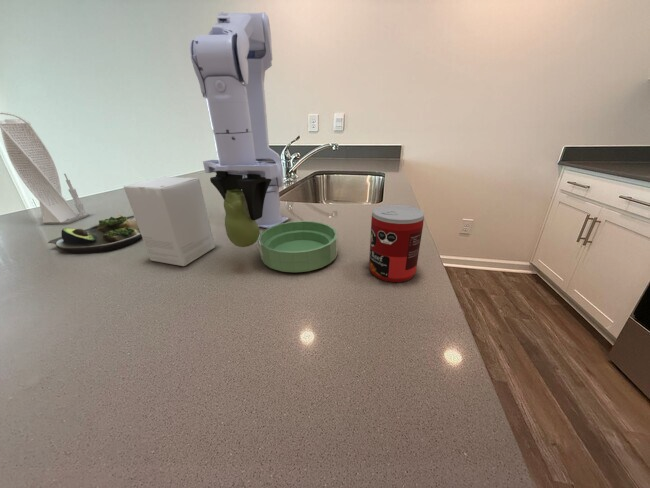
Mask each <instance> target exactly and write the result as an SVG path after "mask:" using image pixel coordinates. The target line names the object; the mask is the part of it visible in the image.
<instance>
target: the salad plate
mask: <svg viewBox="0 0 650 488" xmlns="http://www.w3.org/2000/svg"><path fill="white" fill-rule="evenodd" d="M133 219H135V216H134V215H129V216H123V215H122V214H119V215H117V217H113V216H110V217H109V218H104V219H99V220H98V223H96V224H92V225H90V226H87V227H85V228H74V227H64V228H62V229H61V232H60V235H61V236H59V237H56V238H53V239H51V240H48V242H47V244H54V245H55V247H56V248H57V249H59V250H61V251H63V252H65V253H68V254H95V253H103V252H104V253H105V252H110V251H114V250H119V249H122V248H125V247H127V246H129V245H132V244H133V243H135V242H136V241H138V240H139V239H141V238H142V235H141V233H140V230H139V227H138V224H137V222H136V220H133Z"/></svg>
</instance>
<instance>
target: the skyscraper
mask: <svg viewBox="0 0 650 488" xmlns="http://www.w3.org/2000/svg"><path fill="white" fill-rule="evenodd" d="M0 115H5V116H12V117H15V118H16V119H14V118H12V119H9V118H8V119H6V118H5V119H1V120H0V132H1V135H2V137H1V138H2V140H3V144H4V148H5V150H6V153H7V156H8V158H9V161H10V162H11V164H12V166H13V168H14V170H15V172H16V174H17V175H18V177H19V178H20V180H21V181H22V182H23V184H24V185H25V187H26V188H27V189H28V191H30V193H32V195H33V196H34V197H35V198H36V199H37V200H38V202H39V203H38V204H39V208H40V212H41V218H42V223H43V225H69V224H72V223H74V222H77V221H79V220H83V219H84V218H87V217H89V216H90V214H89V213H87V212H86V210H85V207H84V204H83V202H81V200H80V198H79V194H78V192H77V189H76V188H74V187H73V185H72V183H71V180H70V179H69V177H68V176H67V174H66V173H63V175H64V177H65V182H66V184H67V186H68V188H69V189H68V192H69V194H70V196H71V198H72V200H73V202H74V207H75V208H76V211H77V212H78V213H77V212H76V211H75V210H74V208H73V207H72V206H71V205H70V204H69V202H68V201H67V200H66V198H64V196H63V195H62V194H63V193H62V187H61V182H60V177H59V173H58V170H57V167H56V164H55V162H54V160H53V157H52V156H51V154H50V152H49V150H48V149H47V146H46V145H45V144H44V142H43V141H42V139H41V138H40V136H39V135H38V133H37V132H36V131H35V129H34V128H33V127H32V125H31V122H29V121H27V120H26V119H25V118H23V117H22V116H19V115H17V114H16V113H11V112H6V111H0Z"/></svg>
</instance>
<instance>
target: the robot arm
mask: <svg viewBox="0 0 650 488" xmlns="http://www.w3.org/2000/svg"><path fill="white" fill-rule="evenodd" d="M189 51H190V59H191V63H192V67H193V70H194V73H195V75H196V78H197V81H198V83H199V88H200V91H201V94H202V97H203V99H206V104H207V109H208V114H209V119H210V125H211V130H212V133H213V134H212V135H213V141H214V144H215V150H216V155H217V159H209V160H203V161H202V164H203V168H204V172H205V173H206V174H212V173H215V176H211V177H210V178H209V180H210V183H211V184H212V185H213V186H214V187H215V188H216V190H217V191H218V193H219V194H220V196H221V198H222V199H223V200H224V198H225V197H226V195H225V194H227V190H234V189H239V190H242V191H243V193H244V196H245V199H246V202H247V206H248V211H249V215H250V218H251V219H252V220H255V221H256V223H257V224H258V226H259V228H262V229H268V228H270V227H272V226H275V225H278V224H281V223H286V222H287V221H289V217H286V216H282V208H281V199H280V198H281V197H280V190H279V189H280V188H282V187H283V186H284V170H283V163H282V158H281V156H280V154H279V153H277V152H276V151H275V150H274V149H272V148H271V147H270V143H269V130H268V119H267V107H266V105H267V104H266V93H265V76H266V71H267V70H268V69H270V68H271V67H272V66H273V63H272V61H273V48H272V32H271V25H270V19H269V16H268V15H267V13H266V12H265V11H261V12H223V11H219V12H218V15H217V17H216V22H215V23H214V25H212V27H211V28H210V31H209V32H208V33H207V34H196V35H195V38H194V39H191V41H190V43H189Z"/></svg>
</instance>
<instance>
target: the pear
mask: <svg viewBox="0 0 650 488" xmlns="http://www.w3.org/2000/svg"><path fill="white" fill-rule="evenodd" d="M225 195H226V197H225V198H224V199H223V208H224V211H225V216H224V228H225V233H226V235H227V238H228V240H229V242H231V243H232V244H233V245H234V246H236V247H240V248H247V247H250V246H253V245H254V244H255V243H256V242H257V241H258V239H259V235H260V234H261V233H260V227H259V226H258V224H257V223H256V221H255V220H252V219H251V218H250V215H249V211H248V206H247V202H246V199H245V196H244V193H243V191H242V189H241V190H239V189H234V190H227V194H225Z"/></svg>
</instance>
